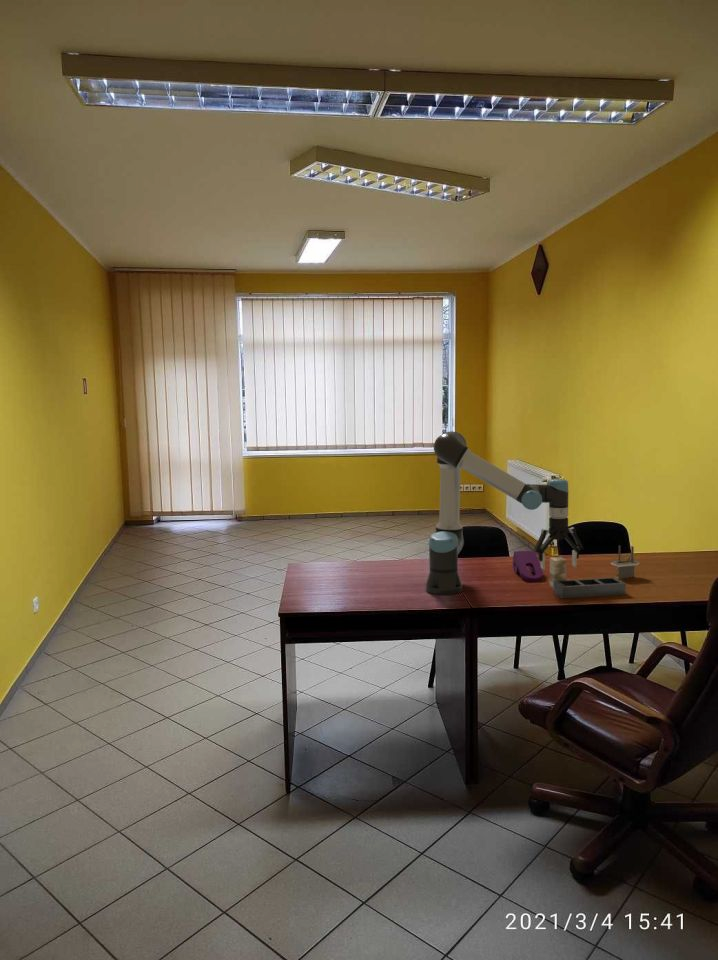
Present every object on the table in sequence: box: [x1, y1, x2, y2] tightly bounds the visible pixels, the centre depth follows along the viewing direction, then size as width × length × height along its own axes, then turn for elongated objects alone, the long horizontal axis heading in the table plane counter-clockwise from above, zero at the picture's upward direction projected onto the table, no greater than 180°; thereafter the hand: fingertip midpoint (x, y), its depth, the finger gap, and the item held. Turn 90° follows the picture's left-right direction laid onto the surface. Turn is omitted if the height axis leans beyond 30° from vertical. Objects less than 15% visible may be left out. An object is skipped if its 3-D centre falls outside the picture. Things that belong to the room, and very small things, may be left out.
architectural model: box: [610, 545, 640, 580], centre depth 285 cm, size 21×25×14 cm
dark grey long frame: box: [552, 576, 627, 599], centre depth 265 cm, size 26×9×4 cm, turn 96°
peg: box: [548, 556, 567, 589], centre depth 274 cm, size 5×5×12 cm
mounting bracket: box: [512, 550, 544, 582], centre depth 292 cm, size 10×8×18 cm
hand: (558, 567), depth 273 cm, fingers open, 13 cm apart
